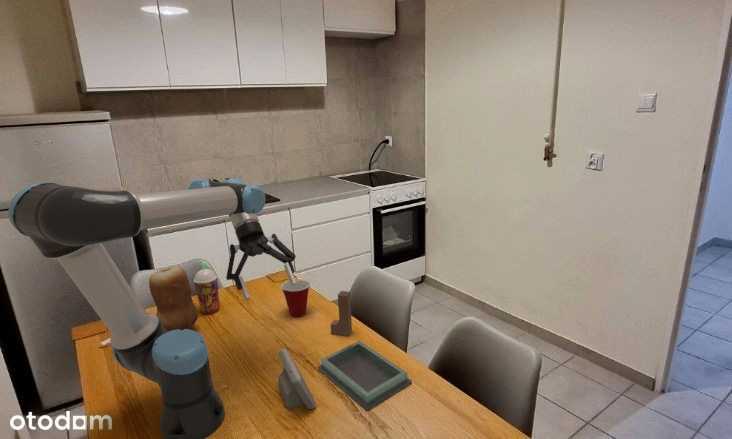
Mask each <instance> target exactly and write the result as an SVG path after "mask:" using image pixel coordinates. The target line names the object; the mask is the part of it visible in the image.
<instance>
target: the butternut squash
mask: <svg viewBox="0 0 732 439" xmlns="http://www.w3.org/2000/svg"><path fill="white" fill-rule="evenodd" d="M148 286H149V292H150V295H151V297H152V299H153V302H154V304H155V306H156V313H155V315H156V316H157V317H158V318H159V320H160V322H161V323H162V325H163V326H164V328H165V329H166V330H167V331H168V332H169V331H173V330H178V329H180V330H181V331H182V330H184V329H189V330H193V327H194V326H195V324H196V322H197V321H198V316H199V314H198V313H199V311H198V308H197V306H196V304H195V303H194V302H193V297H192V288H191V285H190V281H189V277H188V274H187V272H186V271H185V269H184V268H183V267H181V266H179V265H169V266H165V267H163V268H160V269H159V270H156V271H155V272H153V273H152V274H151V275H150V276H149V278H148Z"/></svg>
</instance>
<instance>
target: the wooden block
mask: <svg viewBox="0 0 732 439" xmlns="http://www.w3.org/2000/svg"><path fill="white" fill-rule="evenodd" d="M337 301H338V302H337V304H338V307H337V308H338V319H333V320H332V321H331V323H330V335H336V336H344V337H345V336H346V337H351V336H350V335H351V334H352V333H353V323H352V305H351V303H352V302H351V292H350V291H345V290H340V291H339V293H338V294H337Z"/></svg>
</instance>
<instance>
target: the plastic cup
mask: <svg viewBox="0 0 732 439" xmlns="http://www.w3.org/2000/svg"><path fill="white" fill-rule="evenodd" d="M295 281H296V283H295V285H294V286H291V283H290V281H289V280H288V281H285V282H283V283H282V284H281V285H280V289H281V290H282V292H283V295H284V298H285V302H286V305H287V306H286V307H287V308H288V311H289V314H290V316H291V317H293V318H300V317H303V316H305V315H306V314H307V306H308V298H309V297H308V296H309V290H310V287H311V282H310V281H309V280H305V279H295Z"/></svg>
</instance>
